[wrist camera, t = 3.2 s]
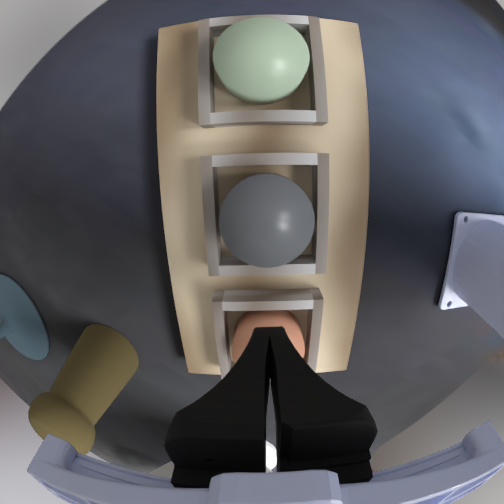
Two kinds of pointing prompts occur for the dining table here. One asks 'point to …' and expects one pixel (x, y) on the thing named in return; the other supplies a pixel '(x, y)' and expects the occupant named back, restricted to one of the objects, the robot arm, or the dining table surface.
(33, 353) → the cocktail glass
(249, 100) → the sage button
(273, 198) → the charcoal button
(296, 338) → the terracotta button
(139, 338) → the dining table surface
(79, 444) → the cork
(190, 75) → the button board
